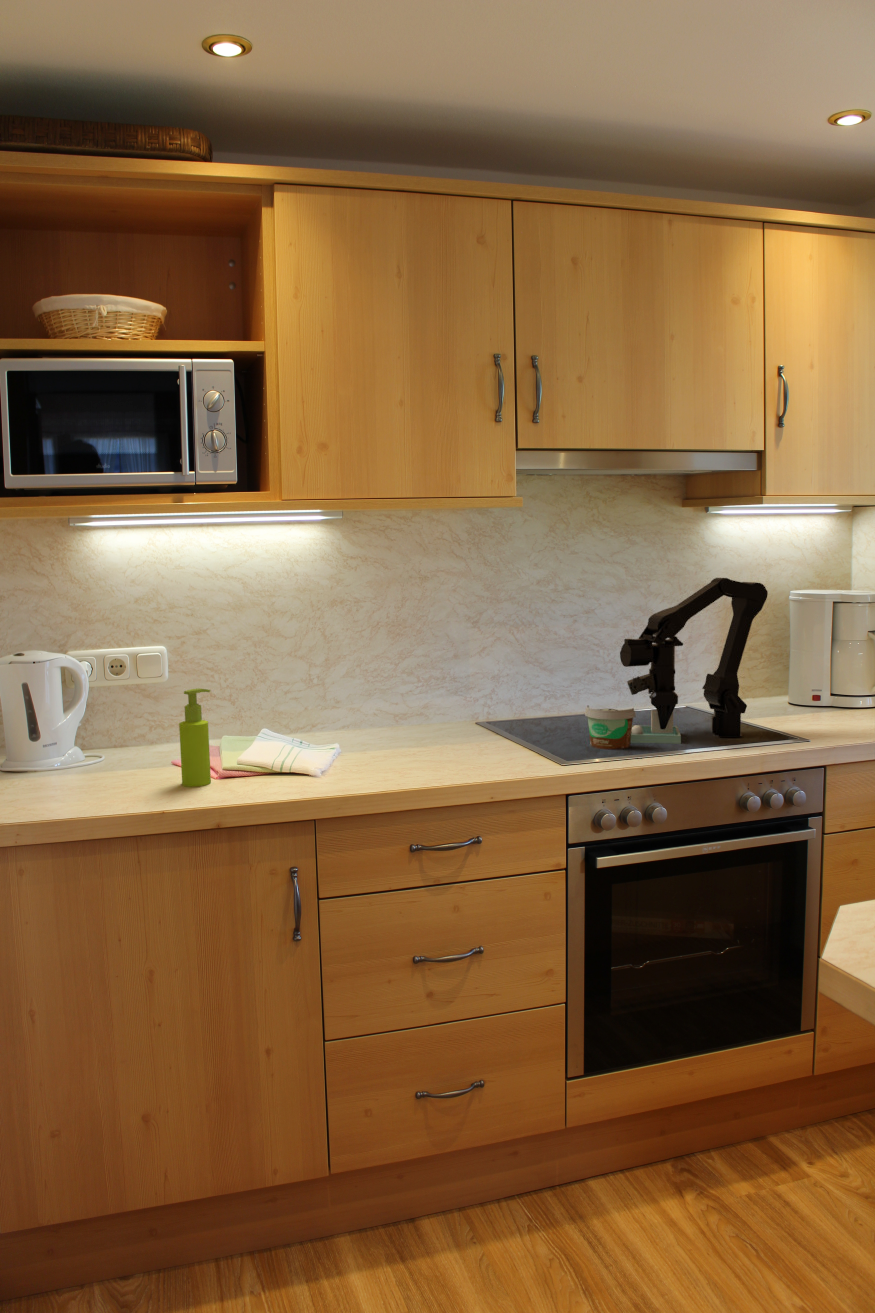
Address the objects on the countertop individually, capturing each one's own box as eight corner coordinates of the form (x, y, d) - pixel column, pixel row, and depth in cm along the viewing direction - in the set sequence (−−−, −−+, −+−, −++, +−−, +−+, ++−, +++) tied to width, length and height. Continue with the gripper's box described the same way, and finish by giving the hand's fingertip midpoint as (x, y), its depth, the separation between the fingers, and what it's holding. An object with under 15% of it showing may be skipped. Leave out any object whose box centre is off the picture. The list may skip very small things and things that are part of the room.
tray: (677, 735, 237) (677, 726, 237) (680, 746, 225) (680, 735, 225) (624, 735, 239) (624, 725, 239) (624, 744, 227) (625, 734, 227)
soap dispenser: (220, 781, 198) (216, 688, 196) (192, 788, 193) (187, 692, 191) (204, 777, 202) (200, 686, 200) (176, 784, 197) (171, 690, 194)
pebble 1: (642, 735, 236) (642, 724, 235) (642, 737, 233) (642, 726, 233) (631, 734, 236) (631, 724, 236) (631, 737, 233) (631, 726, 233)
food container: (577, 750, 222) (577, 708, 221) (586, 745, 228) (586, 704, 227) (628, 754, 217) (628, 712, 216) (635, 749, 222) (635, 708, 221)
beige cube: (671, 729, 233) (671, 709, 233) (672, 733, 228) (673, 713, 228) (651, 729, 234) (651, 709, 234) (652, 733, 229) (652, 713, 229)
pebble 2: (643, 738, 232) (643, 727, 231) (643, 740, 229) (643, 729, 229) (631, 738, 232) (631, 727, 232) (631, 740, 230) (631, 729, 229)
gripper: (628, 660, 240) (628, 719, 242) (630, 669, 222) (629, 734, 224) (673, 660, 238) (672, 720, 240) (678, 669, 220) (677, 734, 222)
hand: (662, 727), depth 231 cm, fingers closed on beige cube, 5 cm apart
